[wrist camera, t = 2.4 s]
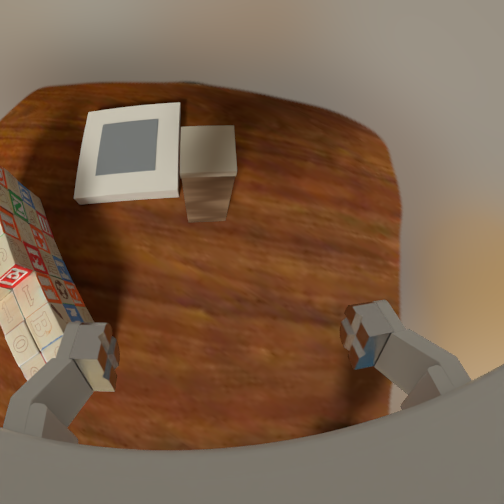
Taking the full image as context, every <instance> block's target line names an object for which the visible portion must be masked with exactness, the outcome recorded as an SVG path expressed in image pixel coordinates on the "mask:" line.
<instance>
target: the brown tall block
mask: <svg viewBox="0 0 504 504" xmlns="http://www.w3.org/2000/svg"><path fill="white" fill-rule="evenodd" d="M236 174H237V162H236V147H235V133H234V125H226V126H188V127H181V141H180V177H181V179H182V185H183V192H184V198H185V204H186V211H187V217H188V223H189V222H210V221H225V220H226V215H227V211H228V206H229V202H230V197H231V193H232V188H233V184H234V179H235V176H236Z"/></svg>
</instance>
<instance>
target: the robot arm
mask: <svg viewBox="0 0 504 504" xmlns="http://www.w3.org/2000/svg"><path fill="white" fill-rule="evenodd" d="M345 315H346V318H345V319H344V320H343V321H342V322H341V326H340V339H341V342H342V344H343V347H345V348H346V349H348V350H349V354H348V358H349V360H350V362H351V364H352V366H353V368H354V370H356V369H361V368H366V367H371V366H374V367H375V368H376V369H377V370H379V371H380V372H381V373H382V374H383V375H385V376H386V377H387V378H388V379H389V380H391V381H392V382H393V383H394V384H396V385H397V386H398V387H399V388H401V389H402V390H403V391H404V392H405V393H407V394H408V396H407V398H406V399H405V400H404V401H403V403H402V405H401V409H402V410H401V411H399V412H396V413H393V414H390V415H387V416H384V417H381V418H377V419H374V420H371V421H368V422H364V423H361V424H357V425H353V426H350V427H346V428H342V429H338V430H334V431H330V432H326V433H321V434H317V435H312V436H307V437H302V438H297V439H291V440H285V441H279V442H273V443H266V444H259V445H251V446H242V447H232V448H219V449H203V450H135V449H119V448H107V447H98V446H89V445H82V444H78V439H77V438H76V436H75V435H74V434H73V433H72V432H71V431H70V430H69V429H68V428H67V427H68V426H69V424H70V423H71V422H72V420H73V419H74V418H75V416H76V415H77V413H78V412H79V411H80V409H81V408H82V407H83V405H84V404H85V403H86V401H87V400H88V399H89V397H90V396H91V395H92V393H93V391H115V388H116V381H117V374H116V372H115V369H116V368H117V367H118V365H119V360H120V353H119V346H118V343H117V340H116V339H115V338H114V337H113V336H112V331H113V330H112V328H111V325H110V324H109V323H95V322H69V323H68V324H67V325H66V328H65V331H64V334H63V337H62V340H61V343H60V346H59V349H58V352H57V355H56V358H52V359H50V360H49V361H48V362H47V363H46V364H45V365H44V366H43V367H42V368H41V369H40V370H39V371H38V372H37V373H35V374H34V375H33V376H32V377H31V378H30V379H29V380H28V381H27V382H26V383H25V384H24V385H23V386H22V387H21V388H20V389H19V390H18V391H17V392H16V393H15V394H14V395H13V396H12V397H11V399H10V403H9V406H8V410H7V413H6V417H5V421H4V425H3V428H1V427H0V504H504V364H503V365H501V366H499V367H497V368H495V369H494V370H492V371H490V372H488V373H486V374H484V375H482V376H480V377H478V378H477V379H474V380H472V381H471V379H470V377H469V376H468V374H467V372H466V371H465V369H464V368H463V366H462V365H461V363H460V361H459V360H458V358H457V357H456V356H454V355H453V354H451V353H449V352H448V351H446V350H444V349H442V348H441V347H439V346H437V345H436V344H434V343H432V342H431V341H429V340H427V339H425V338H424V337H422V336H420V335H418V334H417V333H415V332H414V331H412V330H410V329H407V330H406V329H405V327H404V326H403V324H402V322H401V321H400V319H399V318H398V316H397V315H396V313H395V312H394V310H393V309H392V307H391V306H390V304H389V303H388V302H387V301H386V300H379V301H373V302H366V303H360V304H353V305H348V306H347V308H346V310H345Z"/></svg>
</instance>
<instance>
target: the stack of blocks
mask: <svg viewBox="0 0 504 504" xmlns="http://www.w3.org/2000/svg"><path fill="white" fill-rule="evenodd" d="M69 322H94V321H93V319H92V317H91V315H90V314H89V312H88V310H87V308H86V306H85V304H84V302H83V300H82V298H81V296H80V294H79V292H78V290H77V288H76V286H75V284H74V283H73V281H72V279H71V277H70V275H69V272H68V270H67V268H66V266H65V263H64V262H63V260H62V257H61V255H60V252H59V250H58V248H57V245H56V243H55V240H54V236H53V234H52V231H51V229H50V226H49V223H48V221H47V218H46V215H45V212H44V209H43V206H42V203H41V200H40V198H38V197H37V196H36V195H34V194H33V193H32V192H31V191H30V190H28V189H27V188H26V187H24V186H23V185H22V184H21V183H20V182H19V181H17V180H16V178H15V177H13V175H11V174H10V173H9V172H8V171H7V170H6V169H4V168H2V167H1V166H0V325H1V328H2V330H3V332H4V334H5V339H6V341H7V343H8V345H9V347H10V350H11V352H12V354H13V356H14V358H15V360H16V362H17V364H18V366H19V367H20V368H21V370H22V372H23V374H24V376H25V378H26V380H27V381H28V380H29V379H30V378H31V377H32V376H33V375H34V374H35V373H37V372H38V371H39V370H40V369H41V368H42V367H43V366H44V365H45V364H46V363H47V362H48V361H49V360H50V359H52V358H56V355H57V352H58V349H59V346H60V343H61V340H62V337H63V334H64V331H65V328H66V325H67V324H68V323H69Z"/></svg>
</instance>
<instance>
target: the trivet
mask: <svg viewBox="0 0 504 504" xmlns="http://www.w3.org/2000/svg"><path fill="white" fill-rule="evenodd" d="M180 119H181V107H180V102H177V103H162V104H149V105H139V106H130V107H121V108H114V109H106V110H100V111H93V112H89V113H88V117H87V122H86V126H85V131H84V136H83V141H82V146H81V152H80V157H79V163H78V170H77V177H76V184H75V192H74V199H75V200H76V201H77V202H78V203H79V204H80V205H83V204H93V203H104V202H115V201H127V200H141V199H156V198H172V197H179V149H180Z"/></svg>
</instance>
